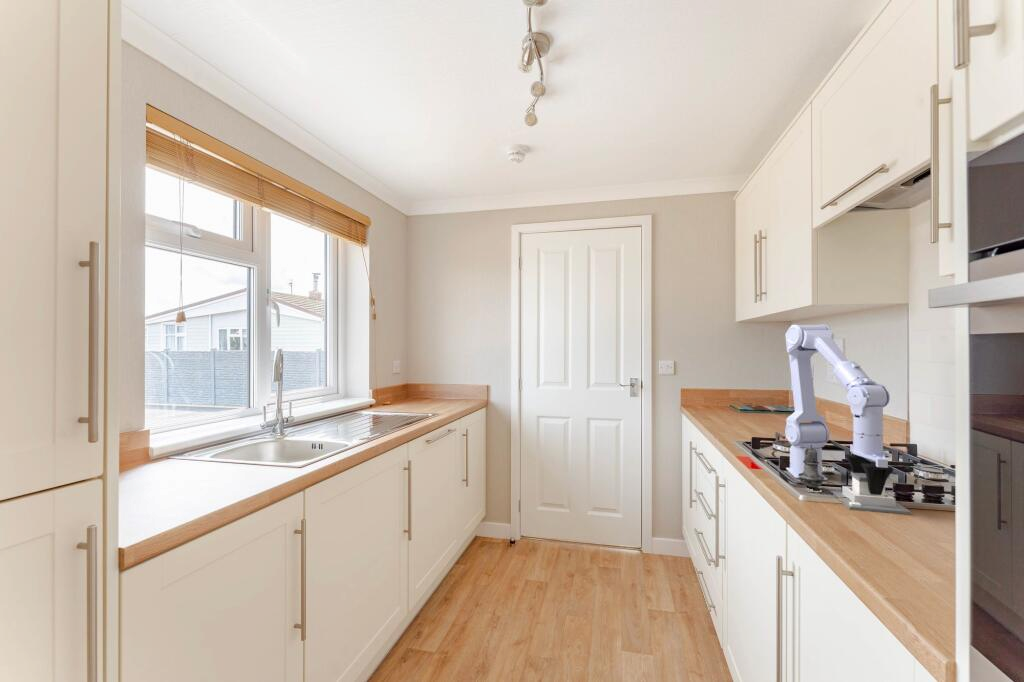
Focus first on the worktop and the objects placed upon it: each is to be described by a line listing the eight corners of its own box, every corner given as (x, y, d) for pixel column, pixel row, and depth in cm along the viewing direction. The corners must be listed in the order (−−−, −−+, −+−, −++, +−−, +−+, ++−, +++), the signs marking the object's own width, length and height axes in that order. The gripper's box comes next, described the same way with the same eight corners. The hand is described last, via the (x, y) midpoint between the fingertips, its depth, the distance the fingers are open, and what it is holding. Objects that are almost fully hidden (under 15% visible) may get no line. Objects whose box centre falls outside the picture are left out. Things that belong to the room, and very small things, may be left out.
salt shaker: (829, 493, 117) (829, 447, 117) (806, 493, 117) (806, 447, 117) (815, 486, 123) (814, 442, 123) (793, 486, 123) (793, 442, 123)
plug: (852, 496, 113) (852, 472, 113) (876, 498, 112) (876, 474, 112) (859, 502, 110) (859, 477, 109) (885, 504, 108) (885, 479, 108)
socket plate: (829, 492, 118) (829, 482, 118) (884, 496, 115) (884, 486, 115) (849, 509, 107) (849, 498, 107) (911, 514, 103) (911, 503, 103)
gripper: (903, 441, 102) (903, 500, 103) (872, 428, 116) (872, 480, 116) (867, 439, 104) (867, 498, 105) (840, 427, 118) (840, 478, 118)
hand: (867, 488), depth 111 cm, fingers open, 7 cm apart
